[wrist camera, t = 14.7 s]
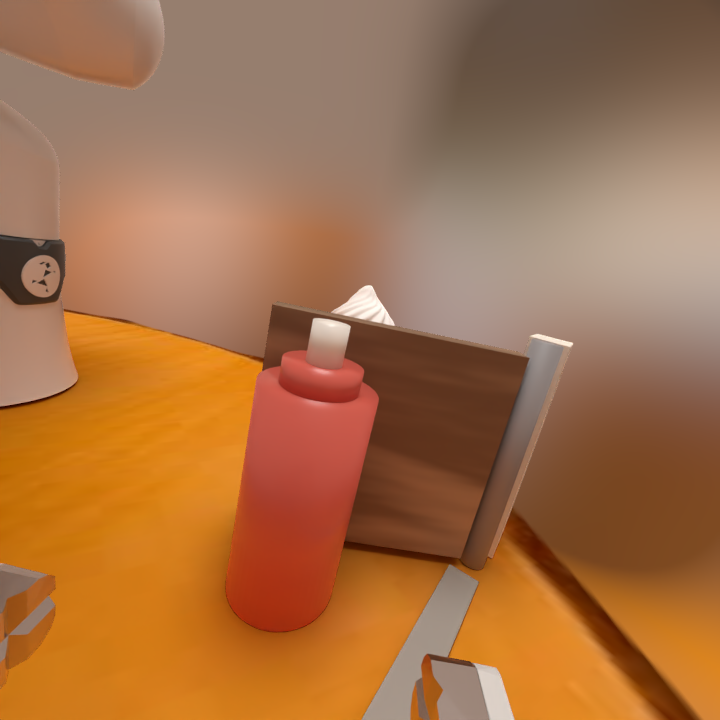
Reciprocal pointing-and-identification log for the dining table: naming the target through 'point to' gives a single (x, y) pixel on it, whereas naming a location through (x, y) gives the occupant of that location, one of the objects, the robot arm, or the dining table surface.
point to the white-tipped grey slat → (477, 530)
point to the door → (417, 426)
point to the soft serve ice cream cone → (365, 307)
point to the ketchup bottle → (299, 482)
